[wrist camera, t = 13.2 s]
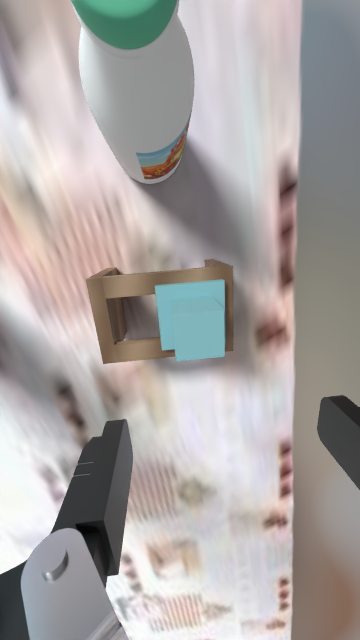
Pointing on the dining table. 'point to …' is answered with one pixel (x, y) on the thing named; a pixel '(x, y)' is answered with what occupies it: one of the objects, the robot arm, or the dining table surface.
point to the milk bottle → (137, 81)
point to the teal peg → (192, 319)
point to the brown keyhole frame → (112, 287)
